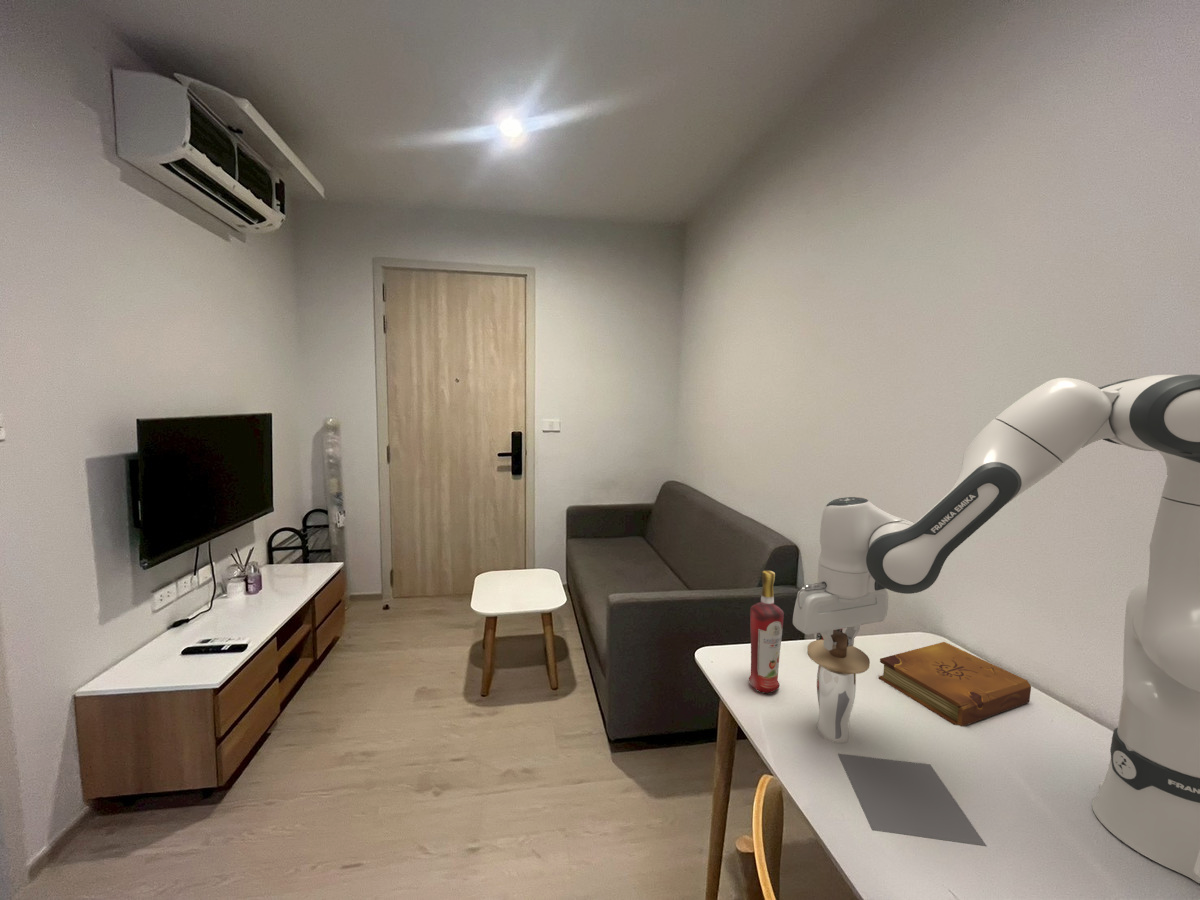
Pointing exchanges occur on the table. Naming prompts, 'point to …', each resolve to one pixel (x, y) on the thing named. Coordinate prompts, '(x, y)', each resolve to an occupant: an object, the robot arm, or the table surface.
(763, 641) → the liquor
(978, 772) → the table surface
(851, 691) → the beer glass
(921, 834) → the rubber mat
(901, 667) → the diary
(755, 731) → the table surface
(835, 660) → the oak lid
